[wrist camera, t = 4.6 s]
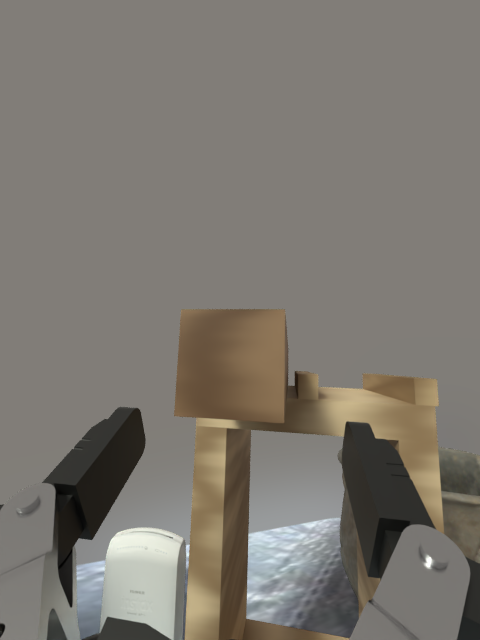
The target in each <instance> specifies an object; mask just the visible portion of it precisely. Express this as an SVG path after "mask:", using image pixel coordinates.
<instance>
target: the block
mask: <svg viewBox="0 0 480 640" xmlns="http://www.w3.org/2000/svg"><path fill="white" fill-rule="evenodd" d="M287 389H288V340H287V327H286V315H285V309H234V310H233V309H230V310H229V309H216V310H215V309H212V310H211V309H205V310H204V309H195V310H194V309H193V310H192V309H186V310H185V309H182V310H181V320H180V336H179V352H178V366H177V382H176V397H175V411H174V416H180V417H195V418H210V419H225V420H240V421H255V422H269V423H284V420H285V409H286V399H287Z"/></svg>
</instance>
